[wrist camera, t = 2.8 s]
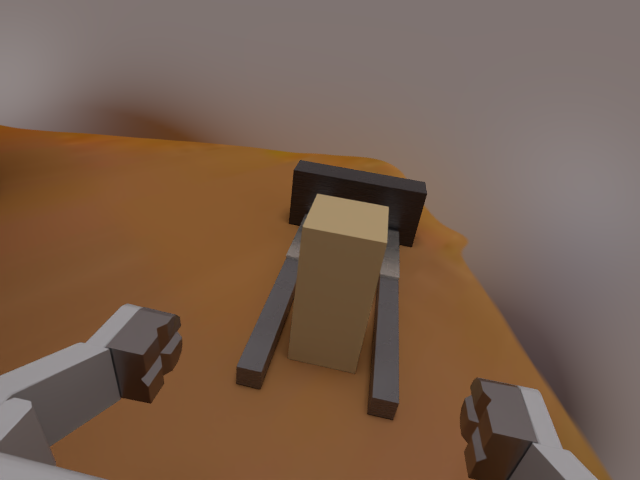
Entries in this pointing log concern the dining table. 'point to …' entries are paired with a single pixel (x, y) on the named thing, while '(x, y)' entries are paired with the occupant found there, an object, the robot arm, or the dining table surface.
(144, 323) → the robot arm
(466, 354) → the dining table surface
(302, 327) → the tall tan pillar block
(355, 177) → the pallet fork attachment
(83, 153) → the dining table surface
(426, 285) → the dining table surface
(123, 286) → the dining table surface
